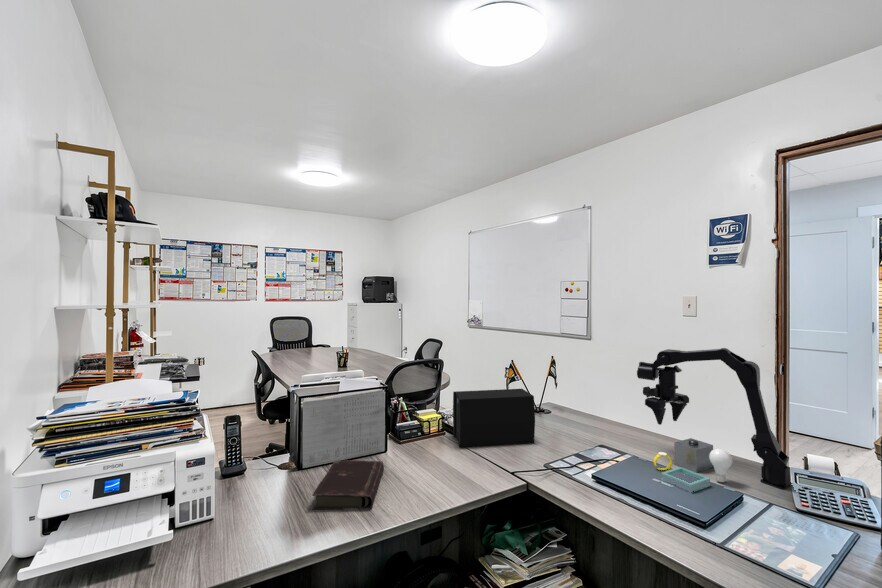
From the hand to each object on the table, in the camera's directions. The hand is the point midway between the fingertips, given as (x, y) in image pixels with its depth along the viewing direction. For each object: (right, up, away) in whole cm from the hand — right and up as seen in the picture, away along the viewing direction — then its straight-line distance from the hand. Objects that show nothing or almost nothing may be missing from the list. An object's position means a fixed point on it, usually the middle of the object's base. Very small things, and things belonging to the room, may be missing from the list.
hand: (667, 422), depth 157 cm
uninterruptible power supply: (-64, -14, +19) cm, 68 cm away
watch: (-8, -13, -12) cm, 20 cm away
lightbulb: (+5, -13, -22) cm, 26 cm away
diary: (-117, -14, -25) cm, 121 cm away
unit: (+5, -13, -9) cm, 16 cm away
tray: (-7, -13, -22) cm, 27 cm away
